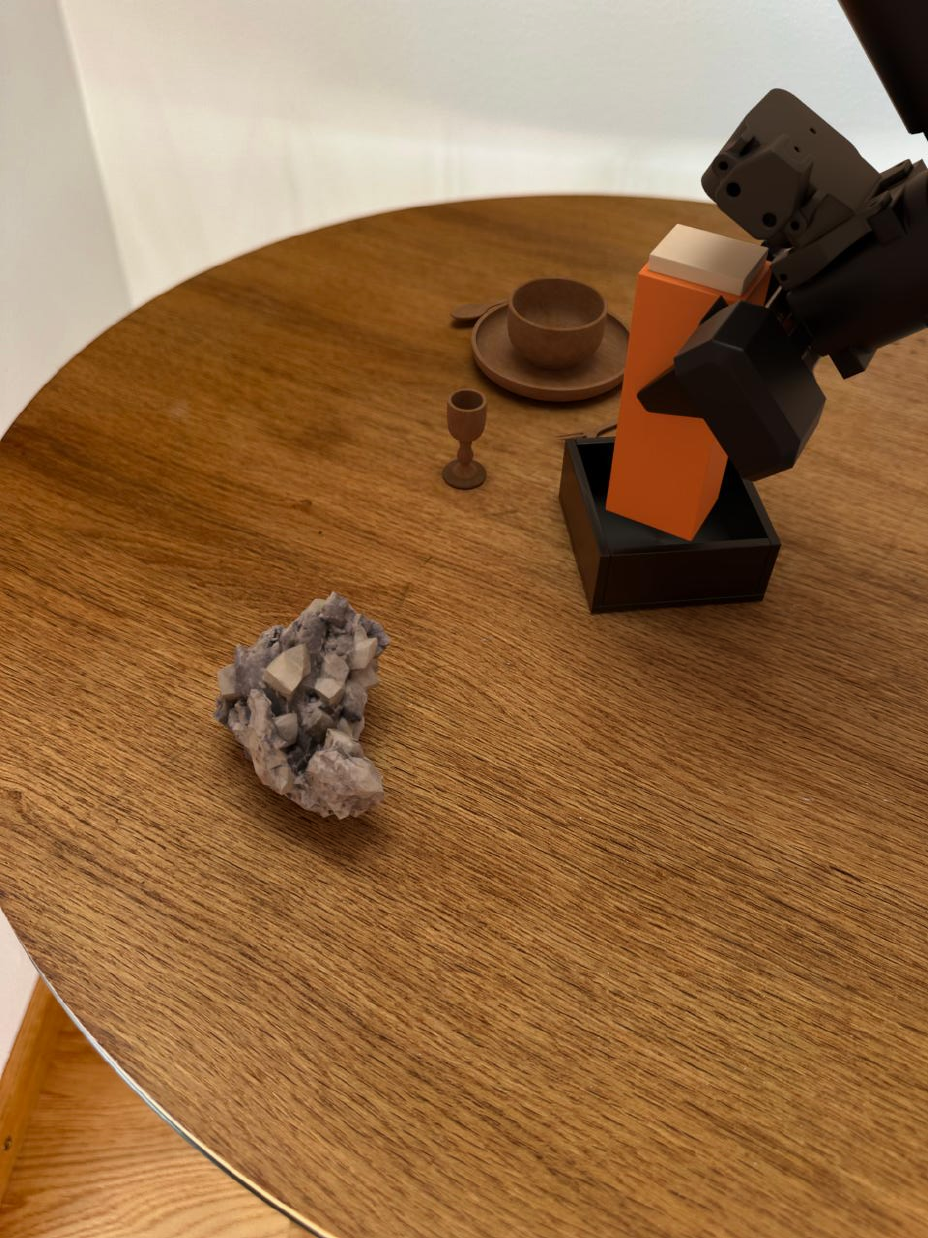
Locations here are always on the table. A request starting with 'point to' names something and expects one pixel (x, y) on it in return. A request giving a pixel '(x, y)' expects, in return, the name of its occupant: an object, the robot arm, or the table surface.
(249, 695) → the mineral specimen
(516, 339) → the place setting
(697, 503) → the block
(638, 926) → the table surface
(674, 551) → the open black square box
